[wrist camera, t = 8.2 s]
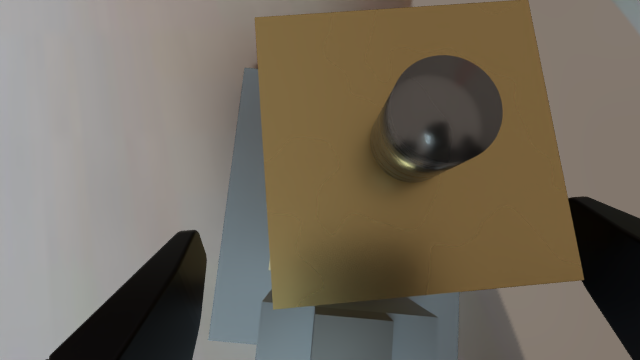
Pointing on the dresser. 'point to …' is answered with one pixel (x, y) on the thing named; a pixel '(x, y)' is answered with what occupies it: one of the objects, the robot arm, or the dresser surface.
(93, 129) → the dresser surface
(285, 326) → the press
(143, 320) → the robot arm
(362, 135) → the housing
